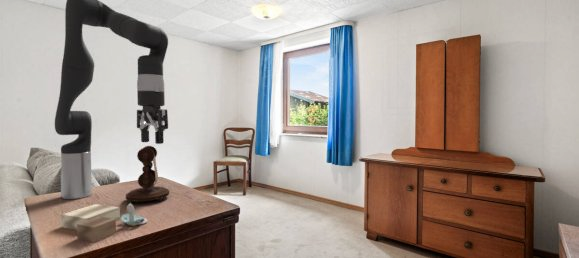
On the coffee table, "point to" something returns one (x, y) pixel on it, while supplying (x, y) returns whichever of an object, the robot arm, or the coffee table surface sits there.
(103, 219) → the walnut block
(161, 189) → the dark brown sculpture
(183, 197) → the coffee table surface
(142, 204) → the coffee table surface
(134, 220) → the pacifier
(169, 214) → the coffee table surface
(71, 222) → the ash block
